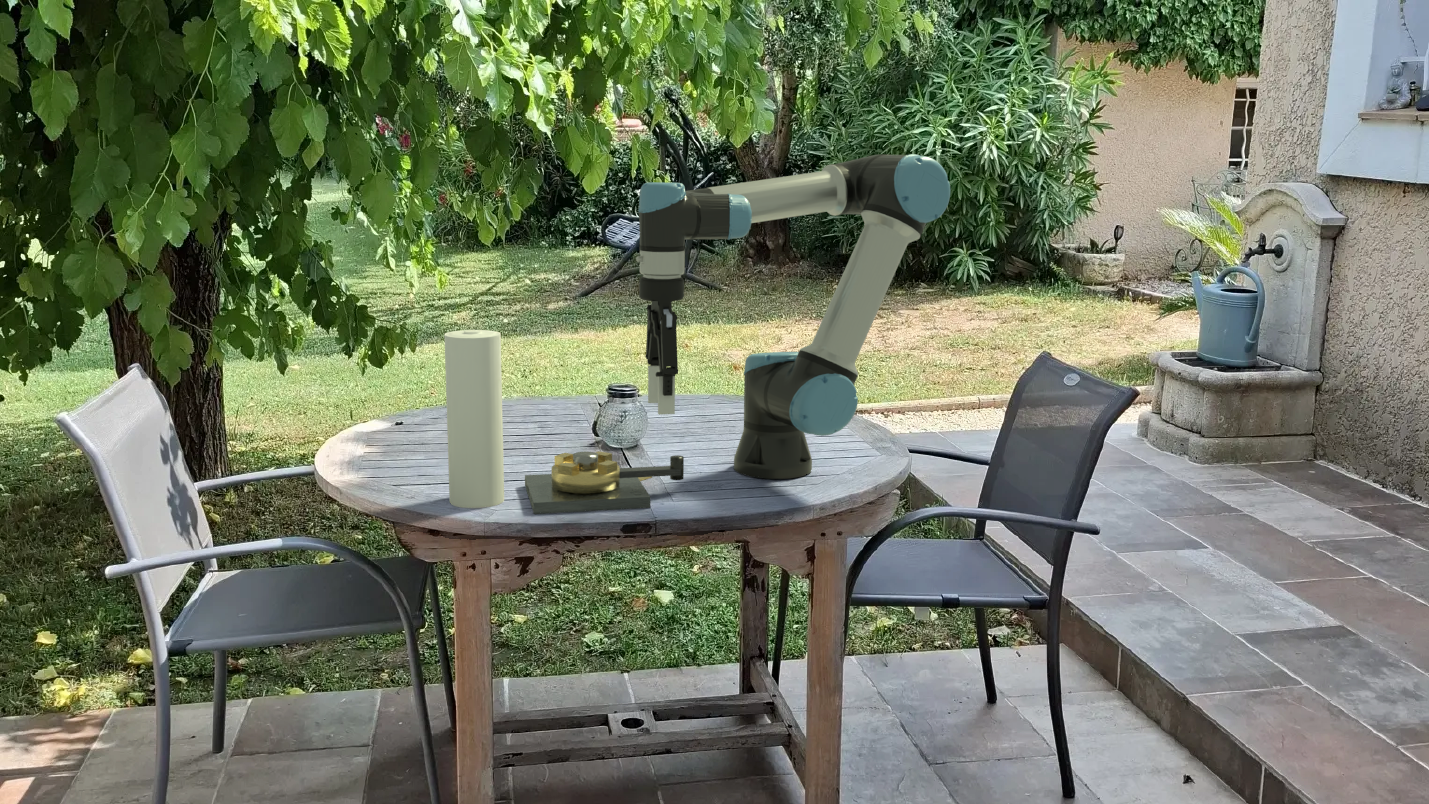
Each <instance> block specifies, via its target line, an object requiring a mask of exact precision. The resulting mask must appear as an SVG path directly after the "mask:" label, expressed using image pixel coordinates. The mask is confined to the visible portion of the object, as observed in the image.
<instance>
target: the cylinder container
mask: <svg viewBox="0 0 1429 804" xmlns="http://www.w3.org/2000/svg"><path fill="white" fill-rule="evenodd" d="M501 334H502V333H501V332H499V331H495V330H488V329H462V330H453V331H448V332H444V360H445V361H444V363H445V365H444V366H445V367H444V368H445V397H446V399H445V401H446V425H447V426H446V428H447V429H446V431H447V458H448V462H447V463H448V491H449V492H448V495H449V497H448V498H449V504H450V503H451V505H452V506H453V507H457V508H462V509H483V508H484V509H485V508H491V507H495V506H498V505H500V504H503V503H504V502H505V480H504V479H505V477H504V476H505V473H504V471H505V470H504V468H505V467H504V429H503V428H504V426H503V425H504V423H503V386H502V385H503V381H502V379H503V377H502V340H501V339H502V338H501V337H502V335H501Z"/></svg>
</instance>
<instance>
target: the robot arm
mask: <svg viewBox="0 0 1429 804" xmlns="http://www.w3.org/2000/svg"><path fill="white" fill-rule="evenodd" d="M948 179H949V178H948V173H947V172H946V170H945V168H944V167H943V166H942V165H941V164H940V163H939V161H937V160H936V159H934V158H932V157H929V156H925V155H919V154H915V153H914V154H913V153H911V154H905V155H904V154H886V153H885V154H874V155H869V156H864V157H861V158H856V159H852V160H847V161H843V162H838V163H833V164H828V165H825V166H824V167H823V168H822V169H821V171H816V172H809V173H800V174H795V175H794V174H793V175H788V176H779V177H773V178H766V179H760V180H759V179H758V180H753V181H752V180H751V181H745V182H737V183H731V184H725V185H717V186H710V187H706V188H696V189H691V190H686V187H685V185H684V184H683V183H682V182H661V181H660V182H657V181H656V182H653V181H652V182H645V183H643V184H642V185H641V187H640V190H639V201H638V202H639V203H638V214H639V215H638V216H639V218H638V219H639V220H638V221H639V223H638V224H639V226H638V227H639V255H638V256H636V257H635V262H638V263H639V274H641V275H642V276H641V277H640V278H639V279H638V281H639V283H638V285H639V287H638V291H639V292H638V296H639V298H640V299H641V300H642V301H648V302H651V304H647V306H646V310H647V311H646V312H647V313H646V314H647V317H646V319H647V320H646V342H645V343H646V346H645V356H644V357H645V359H646V363H647V403H648V404H657V414H658V415H660V416H661V415H675V413H676V411H675V410H676V392H675V391H676V386H675V385H676V375H678V374H679V368H678V367H679V365H678V364H679V363H678V338H677V335H678V334H677V325H678V324H677V319H678V316H677V314H676V312H675V310H673V307H672V306H673V305H672V302H678V301H682V300H683V299H684V297H685V279H684V277H682V275H684V274H685V267H686V266H685V264H686V263H685V258H686V257H685V255H686V253H685V251H686V250H685V245H686V244H685V240H691V241H692V240H727V241H730V240H732V239H733V240H734V239H742V238H744V237H745V236H747V235H748V233H749V231H750V230H751V229H750V228H751V226H752V224H754V223H761V222H768V221H775V220H781V219H787V218H794V217H801V216H807V215H808V216H809V215H813V214H821V213H826V212H827V213H828V214H829V215H831V216H835V217H836V216H841V215H861V218H862V221H863V222H864V226H863V229H862V231H861V233H860V235H859V237H858V239H857V242H856V244H855V246H854V248H853V251H852V253H851V255H850V257H849V259H848V262H847V264H846V266H845V269H844V271H843V273H842V275H841V277H840V280H839V283H838V284H837V286H836V288H835V291H834V293H833V295H832V298H831V300H830V301H829V304H828V306H827V309H826V311H825V313H824V315H823V317H822V320H821V322H820V325H819V327H818V329H817V331H816V334H814V338H813V340H812V342H811V343H810V344H808V345H807V346H804V347H802V348H800V349H799V351H776V352H774V351H772V352H760V353H759V352H758V353H752V354H749V355H748V356H747V357H746V359H745V362H744V371H743V375H744V383H743V385H744V389H743V431H742V434H741V437H740V440H739V442H738V445H737V448H736V451H735V454H734V458H733V470H734V471H735V472H737V473H738V474H741V475H744V476H748V477H751V478H758V479H769V480H771V479H772V480H784V479H787V480H788V479H796V478H801V477H804V476H806V474H807V475H808V474H811V473H812V471H813V468H812V467H813V463H812V462H813V459H812V456H811V452H810V448H809V445H808V442H807V438H806V435H805V434H808V435H809V434H810V435H814V436H818V437H819V436H820V437H821V436H822V437H824V436H825V437H826V436H829V435H830V436H831V435H833V434H835V433H838V432H840V431H841V430H842V429H844V428H845V427H846V426H847V425H849V423H850V422H851V420H852V419H853V418H854V416H855V414H856V410H857V407H858V404H859V402H858V400H859V398H858V396H857V389H856V386H855V383H856V381H857V379H858V377H859V372H858V370H857V366H856V361H857V359H858V357H859V355H860V352H861V349H862V347H863V346H864V343H865V341H866V338H867V337H868V335H869V332H870V329H871V328H872V325H873V324H874V321H875V318H876V316H877V314H878V312H879V309H880V307H881V305H882V303H883V301H884V298H885V296H886V294H887V291H888V289H889V288H890V285H891V283H892V282H893V281H892V280H893V278H894V276H895V274H896V271H897V269H898V267H899V264H900V262H901V261H902V258H903V256H904V253H905V251H906V250H907V246H908V245H909V244H910V243H912V242H915V241H918V240H919V239H920V238H921V236H922V234H923V231H924V229H925V227H926V225H927V223H928V224H929V223H930V222H934V221H935V220H937V219H939V218H940V217H941V216H942V215H943V214H944V212H945V211H946V210H947V208H948V205H949V202H950V197H951V185H950V181H949V180H948ZM811 470H812V471H811Z"/></svg>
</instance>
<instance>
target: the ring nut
mask: <svg viewBox="0 0 1429 804" xmlns="http://www.w3.org/2000/svg"><path fill="white" fill-rule="evenodd" d="M669 458H670V459H669V460H670V461H669V462H670V463H669V464H670V465H662V466H659V465H657V466H656V465H655V466H640V467H639V466H638V467H620V465H619V464H618V461H615V460H613V453H611V452H606V451H600V450H599V451H578V452H574V453H569V452H563V453H560V454H557V455H554V464H553V465H552V466H551V474H552V487H553V488H555V489H557V490H560V491H564V492H569V493H599V492H605V491H609V490H613V489H615V488H617V487H618V486H619V485H620V478H635V477H652V478H653V477H669V479H670V480H672V481H681V480H684V476H685V475H684V474H685V473H684V465H685V464H684V458H685V457H684V456H683V455H672V456H670V457H669Z"/></svg>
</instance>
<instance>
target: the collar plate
mask: <svg viewBox="0 0 1429 804" xmlns="http://www.w3.org/2000/svg"><path fill="white" fill-rule="evenodd" d="M651 478H653V477H635V478H620V485H619V486H618V487H617V488H615V489H613V490H609V491H605V492H599V493H569V492H564V491H560V490H557V489H555V488H553V487H552V473H544V474H543V473H542V474H540V473H539V474H525V475H524V487H525V491H526V492H527V493H526V494H527V497H528V500H529V503H530V506H531V510H532V514H533V515H541V514H542V515H546V514H560V513H563V514H564V513H579V512H580V513H582V512H584V513H585V512H596V511H597V512H599V511H616V510H617V511H618V510H638V509H650V508H651V495H650V494H649V492H648V491H647V489H646V488H645V486H644V485H643V484H642V481H645V480H649V479H651Z"/></svg>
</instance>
